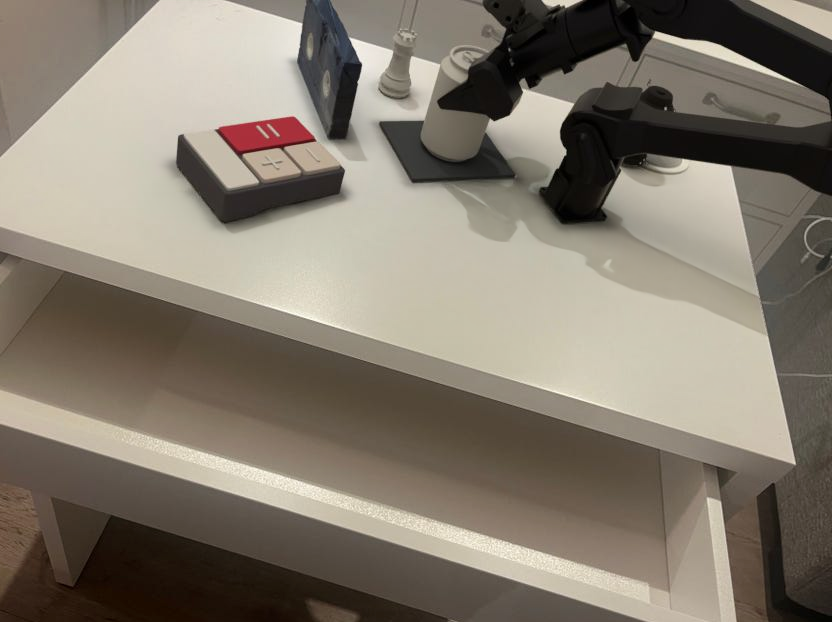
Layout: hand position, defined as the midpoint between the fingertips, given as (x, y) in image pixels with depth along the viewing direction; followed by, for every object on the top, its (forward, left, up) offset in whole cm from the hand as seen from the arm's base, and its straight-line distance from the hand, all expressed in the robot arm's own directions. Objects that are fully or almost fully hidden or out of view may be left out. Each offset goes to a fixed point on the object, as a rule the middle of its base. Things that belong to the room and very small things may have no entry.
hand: (453, 89), depth 90 cm
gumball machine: (-27, +4, -8) cm, 29 cm away
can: (-1, +1, -8) cm, 8 cm away
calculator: (+24, +5, -8) cm, 26 cm away
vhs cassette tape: (+12, -11, -8) cm, 18 cm away
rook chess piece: (+1, -13, -8) cm, 15 cm away
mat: (-1, +1, -8) cm, 8 cm away
